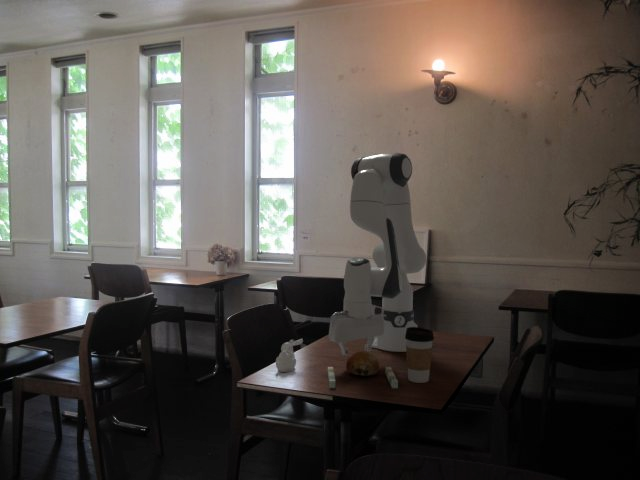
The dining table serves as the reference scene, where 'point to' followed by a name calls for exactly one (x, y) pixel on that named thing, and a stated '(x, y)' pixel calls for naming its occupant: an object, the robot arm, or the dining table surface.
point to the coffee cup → (419, 353)
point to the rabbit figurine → (287, 356)
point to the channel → (388, 373)
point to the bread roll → (362, 364)
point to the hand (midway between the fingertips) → (356, 352)
